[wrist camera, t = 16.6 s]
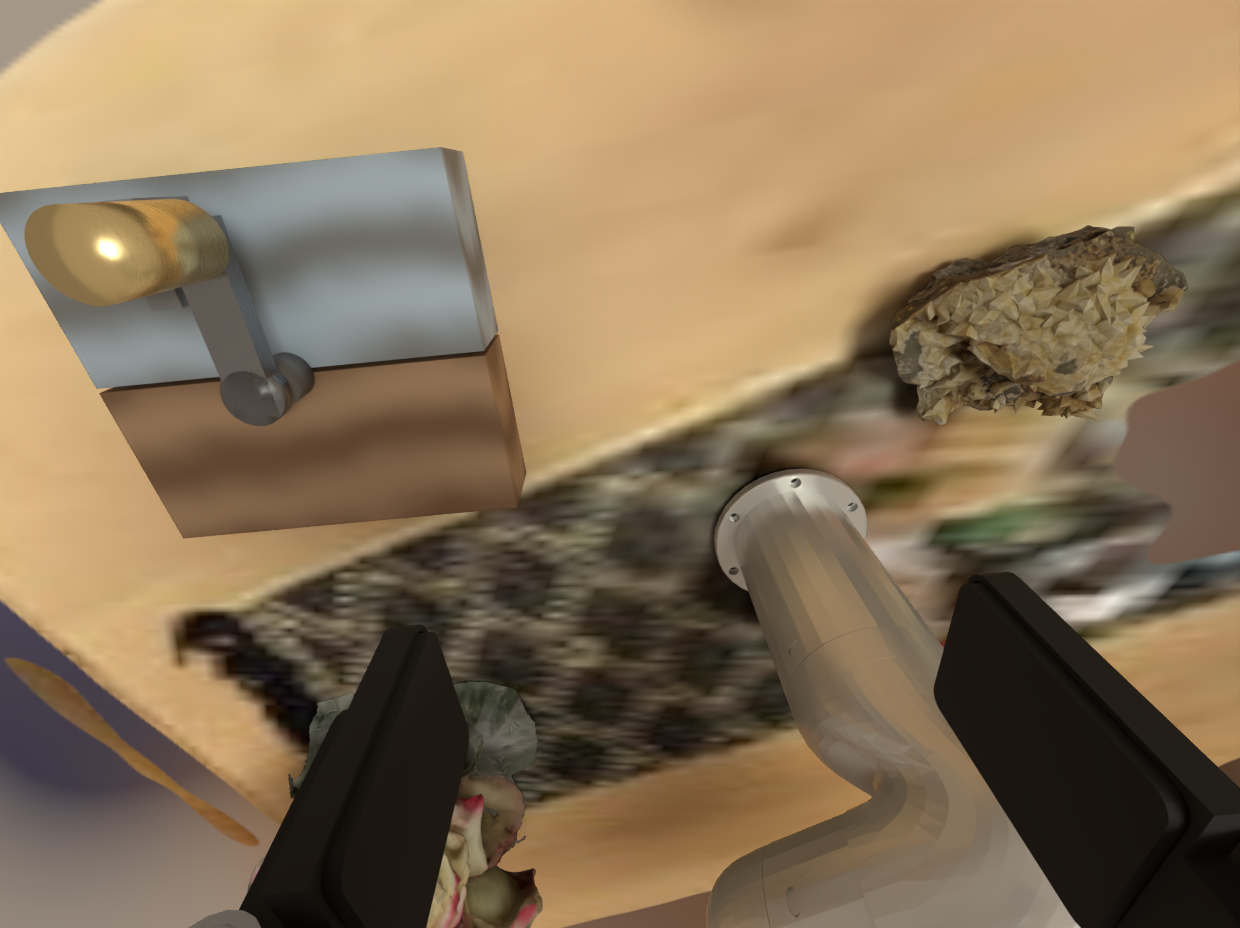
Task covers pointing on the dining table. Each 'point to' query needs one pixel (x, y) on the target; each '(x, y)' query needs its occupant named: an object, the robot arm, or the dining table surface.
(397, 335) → the lever switch panel
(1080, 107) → the dining table surface
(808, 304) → the dining table surface
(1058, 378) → the mineral specimen
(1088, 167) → the dining table surface
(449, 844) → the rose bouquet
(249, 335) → the switch lever
